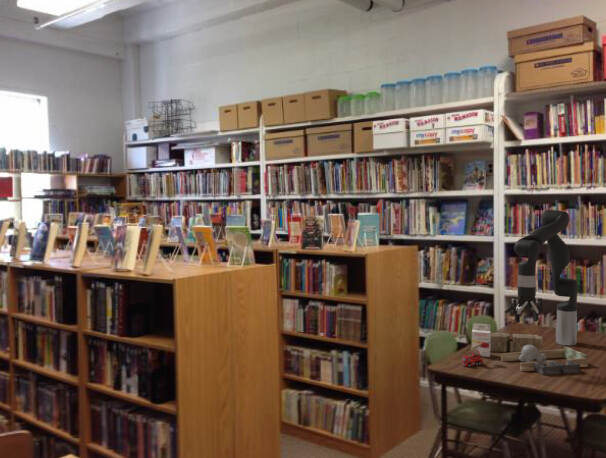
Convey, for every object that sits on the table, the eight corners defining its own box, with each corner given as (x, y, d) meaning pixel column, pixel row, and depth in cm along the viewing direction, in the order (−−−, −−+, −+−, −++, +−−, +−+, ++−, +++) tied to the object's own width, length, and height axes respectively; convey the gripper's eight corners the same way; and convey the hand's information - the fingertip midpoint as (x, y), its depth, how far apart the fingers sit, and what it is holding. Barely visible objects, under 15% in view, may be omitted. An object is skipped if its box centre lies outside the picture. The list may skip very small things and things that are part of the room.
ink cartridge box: (471, 355, 281) (471, 325, 280) (472, 353, 285) (472, 323, 285) (490, 357, 278) (490, 326, 277) (490, 354, 282) (490, 324, 282)
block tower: (540, 352, 290) (478, 346, 298) (540, 335, 289) (478, 330, 297) (542, 356, 282) (478, 350, 290) (542, 338, 282) (479, 333, 290)
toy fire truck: (461, 365, 264) (461, 344, 264) (483, 361, 271) (483, 340, 270) (466, 367, 261) (466, 346, 261) (489, 363, 268) (489, 342, 267)
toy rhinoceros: (542, 373, 260) (550, 356, 257) (516, 360, 265) (523, 343, 263) (545, 369, 266) (552, 352, 263) (519, 356, 271) (526, 340, 269)
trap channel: (501, 360, 271) (501, 350, 271) (564, 356, 277) (564, 345, 276) (530, 376, 247) (530, 364, 247) (598, 370, 253) (598, 359, 253)
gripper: (536, 283, 265) (535, 319, 266) (507, 284, 262) (507, 321, 263) (546, 286, 258) (546, 322, 258) (516, 287, 255) (516, 324, 256)
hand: (526, 321), depth 261 cm, fingers open, 8 cm apart
